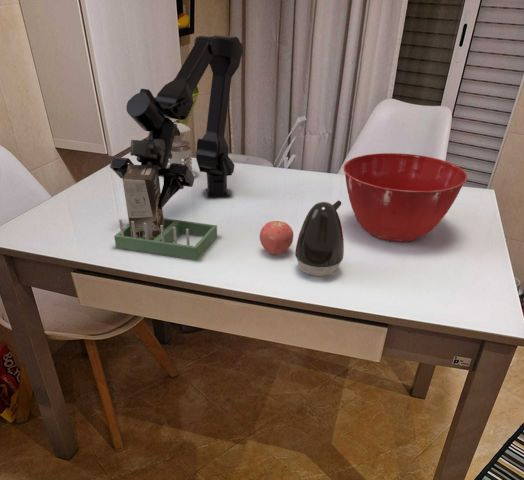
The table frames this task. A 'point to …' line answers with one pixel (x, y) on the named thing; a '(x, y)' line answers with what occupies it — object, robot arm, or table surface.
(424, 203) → the mixing bowl
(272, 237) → the apple
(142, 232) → the coffee box
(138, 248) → the dish rack
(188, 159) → the french press
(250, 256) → the table surface
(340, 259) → the pump dispenser
